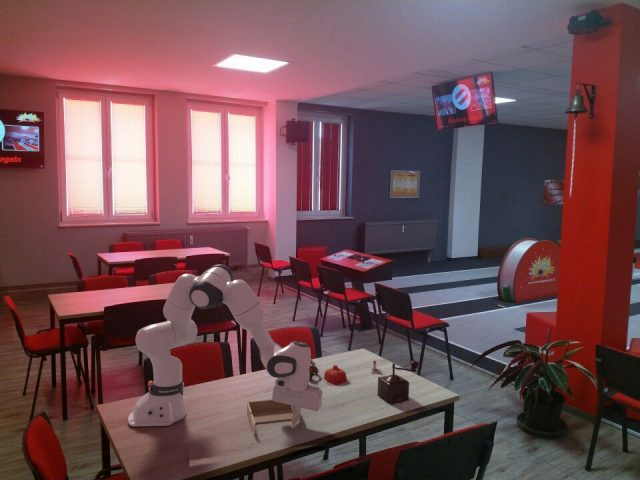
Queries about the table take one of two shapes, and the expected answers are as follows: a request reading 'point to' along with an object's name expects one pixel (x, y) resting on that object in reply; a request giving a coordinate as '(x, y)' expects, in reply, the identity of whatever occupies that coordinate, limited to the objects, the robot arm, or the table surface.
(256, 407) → the carton
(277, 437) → the table surface
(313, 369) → the pottery mug
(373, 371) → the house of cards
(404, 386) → the manual coffee grinder
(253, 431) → the left flap
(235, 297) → the robot arm
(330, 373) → the butter dish
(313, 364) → the egg carton
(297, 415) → the right flap
